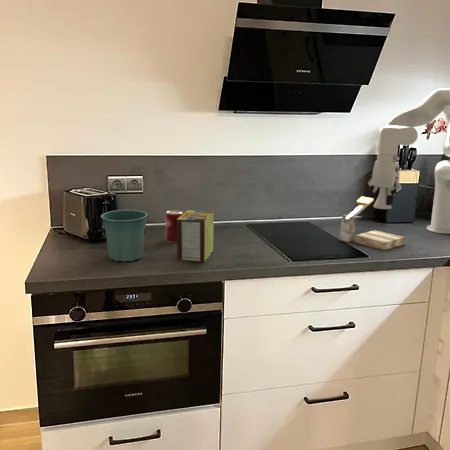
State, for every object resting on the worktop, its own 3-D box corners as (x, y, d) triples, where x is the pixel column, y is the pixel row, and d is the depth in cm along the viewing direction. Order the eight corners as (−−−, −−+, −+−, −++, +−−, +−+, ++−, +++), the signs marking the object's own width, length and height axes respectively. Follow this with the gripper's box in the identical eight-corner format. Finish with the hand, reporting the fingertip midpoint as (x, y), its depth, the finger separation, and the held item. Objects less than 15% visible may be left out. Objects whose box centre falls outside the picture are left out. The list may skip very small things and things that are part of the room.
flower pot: (129, 267, 180) (127, 222, 176) (93, 259, 187) (91, 216, 184) (157, 255, 194) (156, 213, 190) (123, 248, 201) (121, 207, 197)
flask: (392, 210, 207) (394, 185, 204) (373, 209, 208) (375, 184, 206) (390, 206, 214) (393, 182, 211) (372, 205, 215) (374, 181, 213)
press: (362, 233, 229) (364, 210, 226) (403, 244, 214) (406, 219, 211) (339, 239, 219) (341, 215, 216) (381, 251, 204) (383, 224, 201)
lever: (353, 223, 214) (352, 218, 213) (341, 220, 218) (340, 215, 217) (374, 203, 221) (373, 198, 220) (362, 201, 226) (361, 196, 224)
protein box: (213, 250, 201) (214, 211, 197) (204, 262, 186) (205, 220, 183) (187, 248, 203) (187, 209, 199) (176, 260, 188) (176, 218, 184)
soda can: (165, 243, 210) (164, 214, 207) (166, 238, 217) (166, 210, 214) (183, 243, 210) (183, 214, 207) (184, 238, 217) (183, 210, 214)
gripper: (411, 160, 202) (407, 206, 206) (374, 155, 215) (370, 199, 219) (400, 161, 197) (396, 208, 202) (363, 156, 210) (359, 201, 215)
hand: (382, 203), depth 210 cm, fingers closed on flask, 5 cm apart
